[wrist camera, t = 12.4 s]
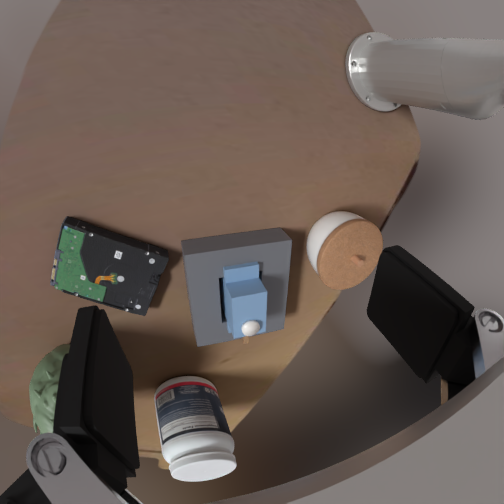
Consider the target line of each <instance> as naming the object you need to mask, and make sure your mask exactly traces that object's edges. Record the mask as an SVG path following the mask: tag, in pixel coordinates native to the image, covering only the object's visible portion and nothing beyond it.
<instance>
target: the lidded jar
mask: <svg viewBox="0 0 504 504" xmlns="http://www.w3.org/2000/svg"><path fill="white" fill-rule="evenodd" d="M306 246H307V255H308V258H309V261H310V263H311V265H312V267H313V268H314V270H315V271H316V273H317V274H318V275H319V277H320V278H321V280H322V281H323V282H324V283H325V284H326V285H327V286H328V287H330V288H333V289H338V290H341V289H348V288H351V287H353V286H355V285H357V284H359V283H360V282H362V281H363V280H364V279H366V278H367V277H368V276H369V275H370V274H371V272H372V271H373V270H374V268H375V266H376V265H377V263H378V261H379V256H380V254H381V253H382V247H383V239H382V235H381V232H380V230H379V229H378V227H377V226H376V225H375V224H373V223H371V222H370V221H368V220H366V219H364V218H362V217H361V216H359V215H356V214H354V213H350V212H346V211H336V212H332V213H329V214H326V215H324V216H323V217H321V218H320V219H319V220H317V221H316V222H315V224H314V225H313V226H312V228H311V230H310V232H309V235H308V238H307V245H306Z"/></svg>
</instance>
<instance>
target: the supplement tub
mask: <svg viewBox="0 0 504 504" xmlns="http://www.w3.org/2000/svg"><path fill="white" fill-rule="evenodd" d="M154 401H155V408H156V415H157V422H158V429H159V435H160V441H161V447H162V454H163V456H164V458H165V460H166V461H167V462H168V463H169V464H170V465H169V470H170V472H171V475H172V476H173V477H174V478H175V479H178V480H182V481H205V480H211V479H215V478H218V477H221V476H223V475H226V474H228V473H230V472H231V471H232V470H234V469H235V468H236V461H235V456H234V455H233V454H232V452H233V451H234V441H233V439H232V436H231V433H230V430H229V427H228V424H227V421H226V418H225V415H224V412H223V409H222V405H221V402H220V399H219V396H218V393H217V389H216V387H215V386H214V385H213V384H212V383H211V382H210V381H208V380H207V379H204V378H201V377H196V376H182V377H176V378H173V379H170V380H168V381H166V382H164V383H163V384H161V385H160V386H159V387H158V388H157V390H156V392H155V395H154Z"/></svg>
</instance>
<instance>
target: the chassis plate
mask: <svg viewBox="0 0 504 504" xmlns="http://www.w3.org/2000/svg"><path fill="white" fill-rule="evenodd" d="M181 245H182V253H183V262H184V269H185V277H186V284H187V292H188V299H189V305H190V312H191V318H192V324H193V330H194V334H195V339H196V343H197V347H199V346H205V345H210V344H216V343H221V342H226V341H231V340H236V339H241V338H243V337H240V338H235V339H234V338H233V335H232V333H229V332H228V330H227V319H226V316H225V314H224V311H223V308H222V306H221V305H220V290H219V278H222V277H224V271H223V267H227V266H233V265H239V264H245V263H251V262H258V264H259V279H260V280H261V282H262V284H263V285H264V287H265V289H266V290H267V311H266V332H262V333H258V334H255V335H259V334H264V333H268V332H273V331H277V330H281V329H284V322H285V312H286V302H287V292H288V281H289V270H290V259H291V247H292V239H291V238H290V237H289V236H288V235H287V234H286V233H285V232H284V231H283V230H282V229H281V228H273V229H265V230H257V231H249V232H241V233H234V234H226V235H219V236H211V237H204V238H197V239H190V240H182V241H181ZM255 335H252V336H255ZM249 337H250V336H249Z"/></svg>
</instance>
